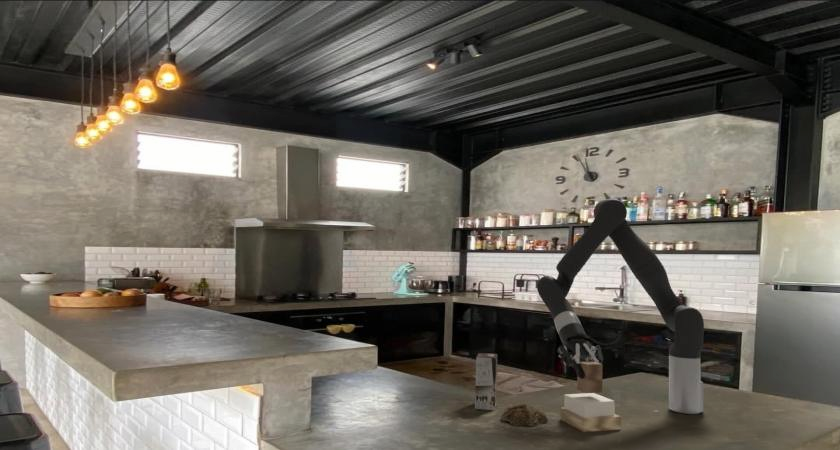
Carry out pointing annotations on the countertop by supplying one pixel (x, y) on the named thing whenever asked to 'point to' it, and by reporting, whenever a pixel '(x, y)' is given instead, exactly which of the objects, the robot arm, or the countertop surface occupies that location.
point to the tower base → (591, 421)
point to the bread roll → (523, 415)
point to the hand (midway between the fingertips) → (591, 376)
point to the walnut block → (590, 377)
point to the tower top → (589, 405)
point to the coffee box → (486, 381)
